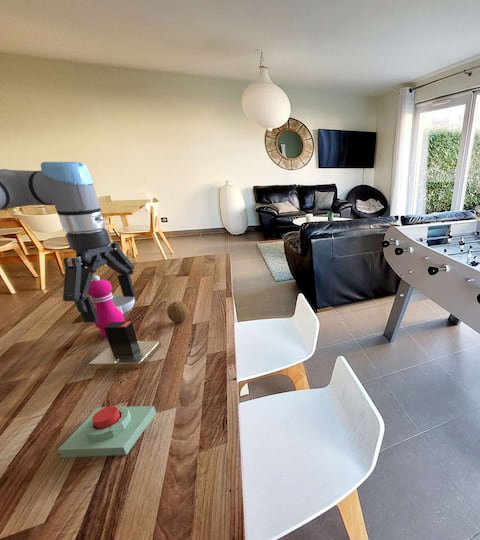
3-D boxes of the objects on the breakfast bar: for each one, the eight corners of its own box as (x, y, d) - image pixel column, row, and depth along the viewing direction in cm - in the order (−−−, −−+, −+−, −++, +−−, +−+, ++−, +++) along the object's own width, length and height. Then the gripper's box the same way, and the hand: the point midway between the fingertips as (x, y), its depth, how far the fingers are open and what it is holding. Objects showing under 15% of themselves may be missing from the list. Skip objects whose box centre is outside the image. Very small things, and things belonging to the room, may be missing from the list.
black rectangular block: (112, 354, 81) (103, 326, 77) (119, 348, 83) (110, 321, 80) (133, 354, 81) (124, 326, 78) (139, 348, 84) (131, 321, 80)
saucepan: (133, 299, 114) (131, 291, 112) (142, 317, 102) (140, 308, 101) (98, 308, 107) (95, 299, 105) (103, 328, 95) (100, 319, 94)
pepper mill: (104, 327, 96) (85, 272, 88) (130, 324, 98) (114, 270, 91) (94, 339, 89) (73, 281, 82) (122, 335, 92) (104, 279, 84)
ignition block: (61, 457, 56) (54, 443, 54) (100, 414, 65) (95, 401, 63) (126, 455, 57) (121, 441, 55) (156, 412, 66) (152, 399, 64)
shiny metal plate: (90, 369, 78) (88, 363, 77) (117, 346, 87) (115, 340, 86) (141, 368, 79) (139, 362, 78) (161, 346, 88) (160, 340, 87)
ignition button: (89, 429, 57) (86, 422, 57) (105, 413, 61) (102, 406, 60) (111, 429, 58) (108, 421, 57) (124, 412, 61) (122, 405, 61)
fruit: (179, 328, 97) (174, 307, 94) (165, 324, 99) (160, 304, 96) (194, 319, 103) (190, 299, 100) (181, 315, 104) (176, 296, 101)
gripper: (55, 245, 57) (89, 334, 65) (137, 219, 80) (154, 287, 88) (14, 245, 57) (53, 335, 65) (108, 219, 80) (129, 287, 88)
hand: (112, 308), depth 76 cm, fingers open, 13 cm apart
